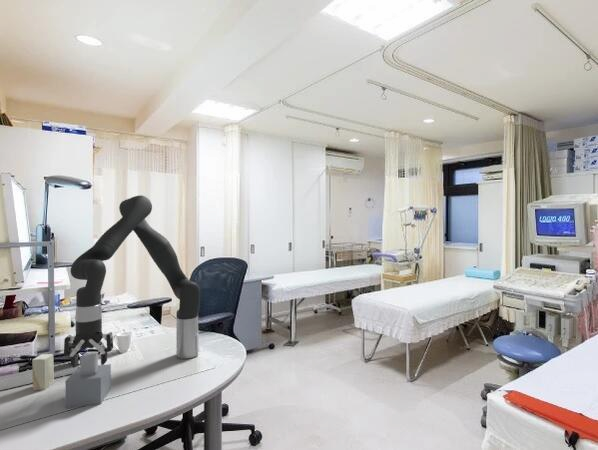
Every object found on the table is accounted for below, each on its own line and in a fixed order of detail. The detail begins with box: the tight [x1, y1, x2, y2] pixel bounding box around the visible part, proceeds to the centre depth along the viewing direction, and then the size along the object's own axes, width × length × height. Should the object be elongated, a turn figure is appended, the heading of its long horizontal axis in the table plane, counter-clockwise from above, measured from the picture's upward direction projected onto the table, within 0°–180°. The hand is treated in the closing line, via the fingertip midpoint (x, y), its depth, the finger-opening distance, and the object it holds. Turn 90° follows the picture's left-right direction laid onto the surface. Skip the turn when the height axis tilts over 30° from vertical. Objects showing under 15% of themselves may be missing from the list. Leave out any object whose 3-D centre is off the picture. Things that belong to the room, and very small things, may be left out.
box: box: [31, 353, 55, 391], centre depth 120 cm, size 5×4×11 cm
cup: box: [113, 330, 134, 354], centre depth 154 cm, size 7×10×8 cm
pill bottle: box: [71, 340, 88, 355], centre depth 141 cm, size 6×6×11 cm
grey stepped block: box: [64, 351, 112, 409], centre depth 113 cm, size 10×10×15 cm
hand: (89, 365), depth 113 cm, fingers open, 8 cm apart
